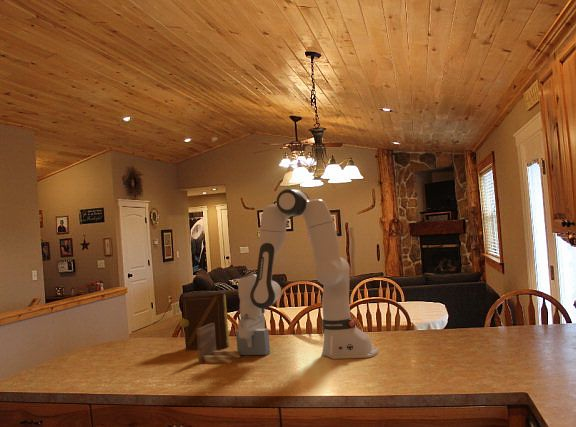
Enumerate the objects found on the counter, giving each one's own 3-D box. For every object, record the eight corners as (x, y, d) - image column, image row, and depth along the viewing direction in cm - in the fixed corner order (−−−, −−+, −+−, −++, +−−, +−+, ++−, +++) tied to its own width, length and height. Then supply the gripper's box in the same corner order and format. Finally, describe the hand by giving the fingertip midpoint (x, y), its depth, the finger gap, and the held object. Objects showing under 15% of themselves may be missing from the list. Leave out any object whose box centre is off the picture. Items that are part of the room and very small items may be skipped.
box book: (270, 352, 226) (268, 328, 227) (266, 354, 222) (264, 330, 222) (242, 352, 231) (240, 329, 231) (237, 355, 226) (235, 331, 227)
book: (230, 344, 250) (226, 291, 250) (226, 348, 241) (222, 293, 242) (184, 347, 252) (180, 294, 252) (179, 351, 243) (175, 296, 244)
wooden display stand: (242, 355, 225) (239, 322, 226) (228, 363, 213) (226, 328, 214) (213, 355, 230) (211, 322, 230) (198, 363, 218) (196, 329, 218)
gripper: (247, 316, 216) (250, 350, 216) (266, 308, 235) (268, 339, 235) (233, 317, 218) (236, 351, 218) (253, 308, 237) (255, 339, 237)
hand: (253, 345), depth 226 cm, fingers closed on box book, 4 cm apart
